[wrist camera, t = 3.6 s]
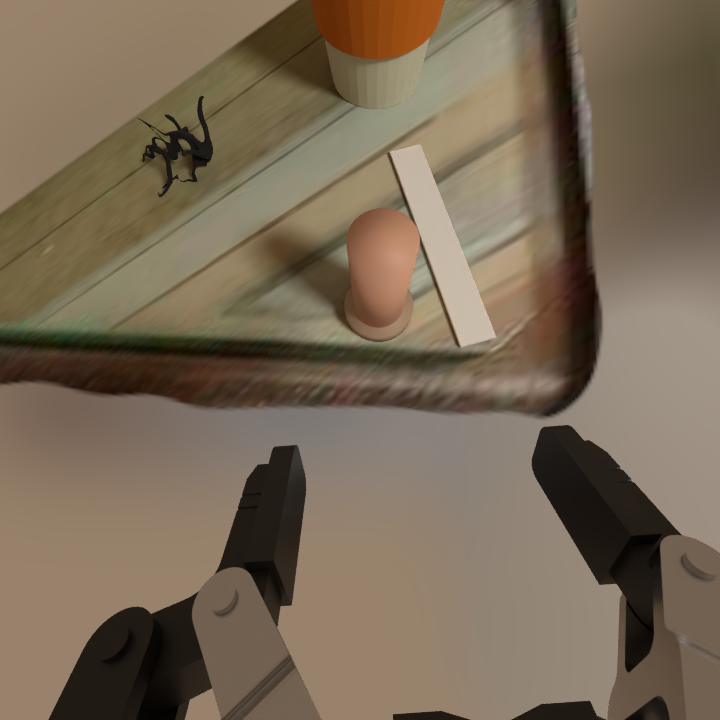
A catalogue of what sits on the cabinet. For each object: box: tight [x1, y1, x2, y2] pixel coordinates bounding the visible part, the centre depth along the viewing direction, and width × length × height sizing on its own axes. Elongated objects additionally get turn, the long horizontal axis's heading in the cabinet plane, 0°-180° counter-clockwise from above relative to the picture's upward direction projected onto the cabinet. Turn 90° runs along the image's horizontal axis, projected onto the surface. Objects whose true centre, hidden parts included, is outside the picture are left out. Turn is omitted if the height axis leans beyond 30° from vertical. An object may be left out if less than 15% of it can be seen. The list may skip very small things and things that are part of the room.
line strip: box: [390, 144, 496, 348], centre depth 29 cm, size 3×20×1 cm, turn 15°
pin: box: [344, 208, 420, 342], centre depth 22 cm, size 6×6×10 cm
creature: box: [138, 96, 213, 197], centre depth 29 cm, size 8×5×8 cm
